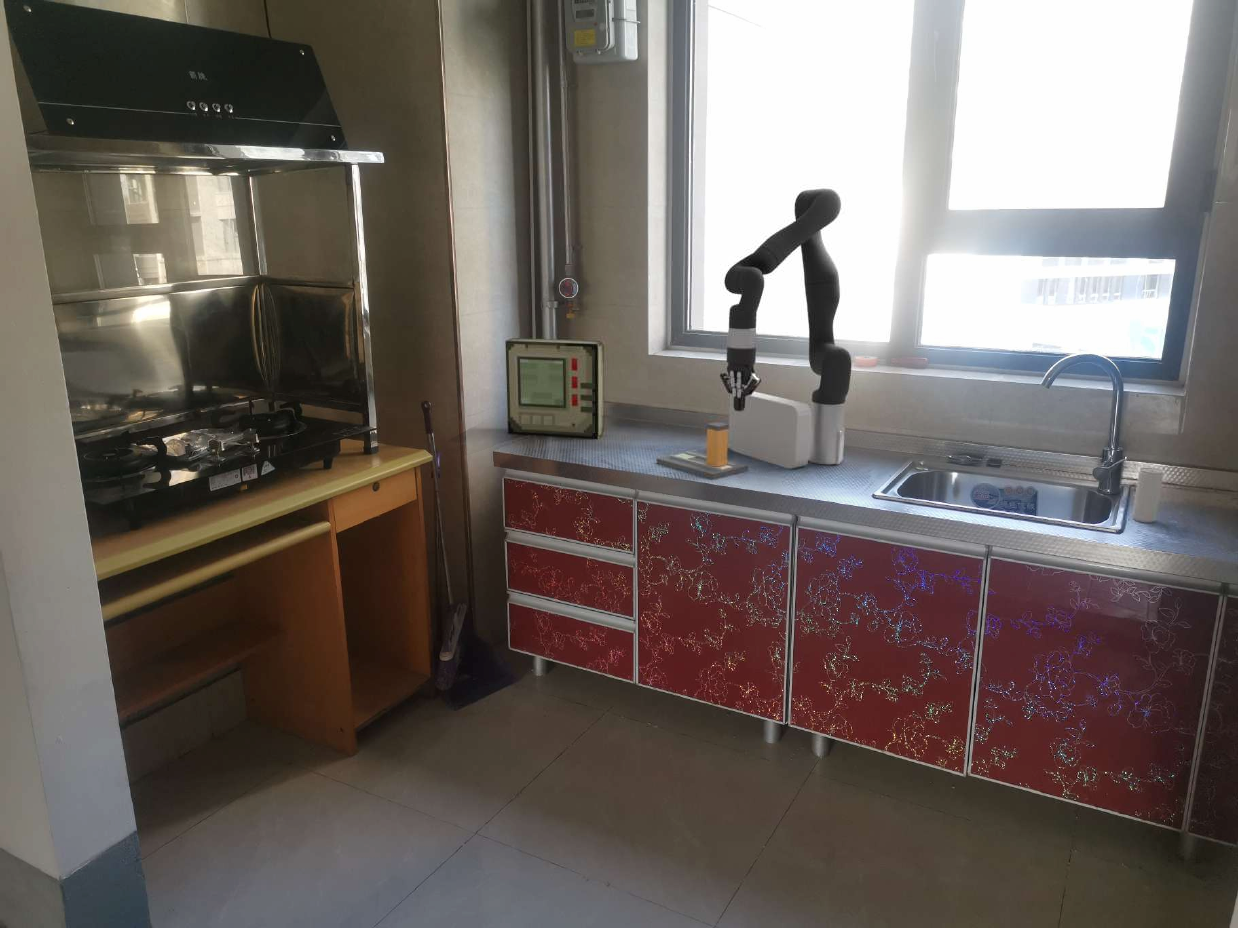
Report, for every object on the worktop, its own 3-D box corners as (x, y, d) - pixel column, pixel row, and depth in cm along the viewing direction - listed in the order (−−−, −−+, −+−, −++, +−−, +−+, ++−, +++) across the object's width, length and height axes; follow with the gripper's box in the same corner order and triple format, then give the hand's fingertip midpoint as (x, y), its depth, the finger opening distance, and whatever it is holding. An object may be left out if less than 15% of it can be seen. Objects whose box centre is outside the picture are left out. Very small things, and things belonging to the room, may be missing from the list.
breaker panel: (656, 463, 259) (656, 456, 258) (691, 455, 268) (691, 448, 267) (713, 479, 243) (713, 472, 242) (748, 470, 252) (748, 463, 251)
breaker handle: (705, 463, 251) (706, 424, 248) (716, 461, 253) (717, 421, 251) (716, 466, 248) (718, 426, 245) (727, 464, 250) (728, 424, 248)
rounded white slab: (814, 467, 256) (818, 403, 251) (794, 470, 252) (798, 406, 247) (746, 446, 279) (749, 388, 274) (727, 449, 275) (729, 390, 270)
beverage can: (1147, 516, 214) (1155, 467, 210) (1160, 523, 209) (1168, 472, 206) (1127, 516, 213) (1135, 467, 210) (1139, 523, 209) (1147, 472, 206)
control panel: (508, 434, 294) (505, 340, 286) (516, 429, 301) (513, 338, 293) (597, 439, 287) (597, 344, 279) (604, 434, 294) (603, 341, 286)
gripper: (770, 346, 234) (767, 412, 239) (732, 341, 244) (730, 405, 248) (751, 349, 229) (748, 416, 234) (713, 343, 239) (710, 408, 244)
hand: (738, 410), depth 241 cm, fingers closed
